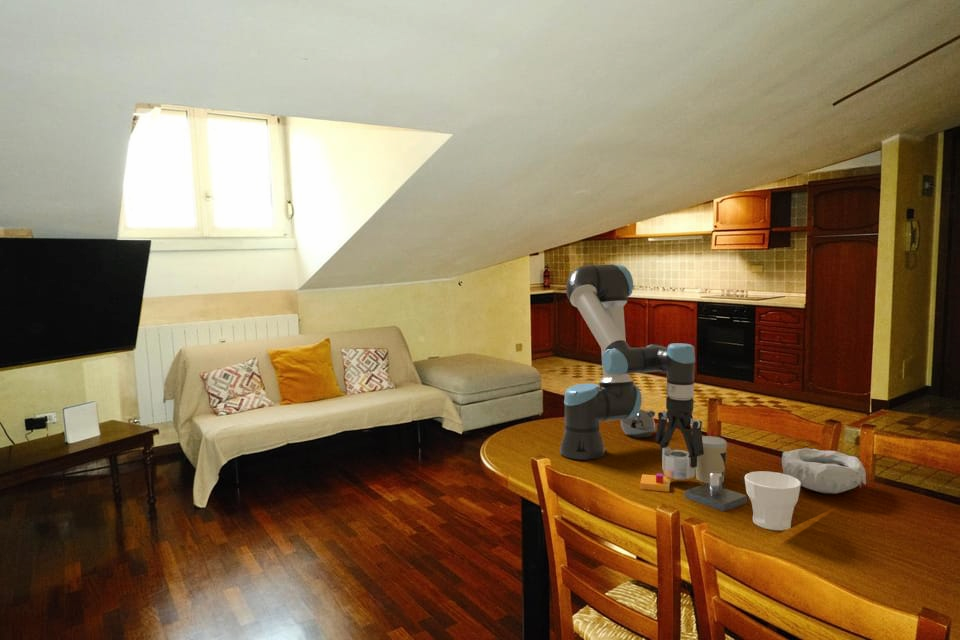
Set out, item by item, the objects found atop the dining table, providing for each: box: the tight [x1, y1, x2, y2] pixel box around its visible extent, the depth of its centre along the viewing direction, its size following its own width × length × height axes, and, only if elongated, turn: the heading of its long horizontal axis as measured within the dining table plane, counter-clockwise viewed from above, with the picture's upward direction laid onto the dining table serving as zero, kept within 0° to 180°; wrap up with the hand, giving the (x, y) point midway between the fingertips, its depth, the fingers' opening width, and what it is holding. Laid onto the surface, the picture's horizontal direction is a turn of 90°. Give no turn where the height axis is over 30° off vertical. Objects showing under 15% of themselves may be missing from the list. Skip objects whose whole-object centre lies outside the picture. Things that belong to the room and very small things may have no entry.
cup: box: [743, 470, 802, 531], centre depth 146 cm, size 12×12×11 cm
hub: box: [662, 449, 689, 480], centre depth 175 cm, size 8×8×6 cm
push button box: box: [639, 473, 671, 493], centre depth 174 cm, size 8×8×4 cm
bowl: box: [781, 447, 867, 495], centre depth 167 cm, size 21×20×10 cm
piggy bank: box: [620, 408, 656, 439], centre depth 221 cm, size 11×15×12 cm
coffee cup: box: [695, 435, 728, 484], centre depth 178 cm, size 9×9×12 cm
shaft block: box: [684, 472, 748, 513], centre depth 162 cm, size 12×10×8 cm
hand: (678, 472), depth 176 cm, fingers closed on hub, 8 cm apart
